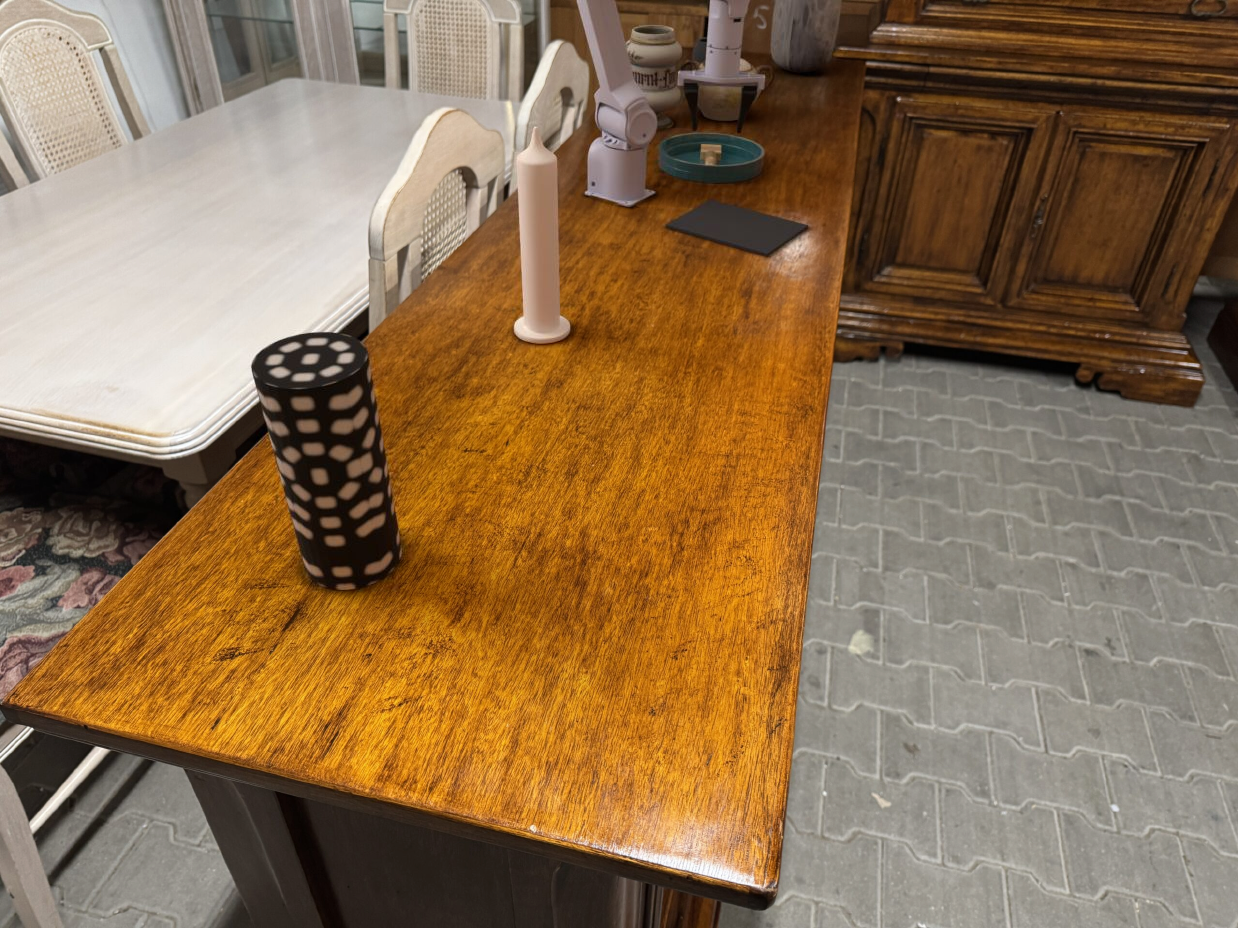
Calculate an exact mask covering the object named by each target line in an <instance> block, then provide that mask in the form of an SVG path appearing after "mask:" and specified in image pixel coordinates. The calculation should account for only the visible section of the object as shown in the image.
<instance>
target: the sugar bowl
mask: <svg viewBox="0 0 1238 928" xmlns="http://www.w3.org/2000/svg"><path fill="white" fill-rule="evenodd" d="M705 63H706V60H705V61H703V62H702V64H701V63H699V62H696V61H694V60H692V59H686V60H685V61H683V63H681V65H680V68H679V71H686V70H685V69H686V67H687V66H692V65H693V66H694V67H695V71H700V70H705ZM763 71H766V72H768V74H769V79H768V81H767V82H765V84H764V90H760V89H757V96H756V98H755V100H754V101H753V103H752V105H753V104H754V103H756V102H757V101H758V100H759V99H760V98H761V97H762V95H763V94H764V92H766V90H767V89H769V88H770V86H771V85H772V84H773V82H774V80H775V71H774V69H773V68H772V67H771V66H770V65H769V64H764V65H758V66H756V67H755V65H753V64H752V63H750V62H748V61H747V60H746V59H744V58H741V57H740V66H739V72H743V73H751V74H759V75H760V73H762V72H763ZM741 92H742V88H741V87H720V86H699V89H698V102H697V107H699V109H700V112H701V114H702V115H703V116H704V118H707V119H710V120H713V121H719V122H720V121H722V122H731V121H738V117H739V112H740V103H741Z"/></svg>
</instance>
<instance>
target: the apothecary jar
mask: <svg viewBox="0 0 1238 928" xmlns="http://www.w3.org/2000/svg"><path fill="white" fill-rule="evenodd" d="M675 33H676V32H675V29H674V28H673V27H670V26H667V25H659V24H658V25H657V24H649V25H647V24H646V25H639V26H635V27H633V28H632V29H631V35H630V37H629V39H628V40H627V41H625V44H626V48H627V52H628V56H629V60H630V65H631V69H632V73H633V77H634V80H635V82H636V83H637V85H638V86H639V87H640V89H641V90H642V91H643V93H644V94H645V96H646V98H647V102H648V105H649V107H650V108H651V109H652V110H653V111H654V113H655V115H656V118H657V129H660V128H661V129H662V128H666V129H668V128H669V129H670V128H672V127H673V125H674V121H673V119H672V118H670V117H668V116H666V115H665V114H663V113H662V112H666V111H669V110H671V109H673V108H674V107H676V105H678V103H679V102H680V101H681V96H682V95H681V91H680V89H679V86H678V85H676V63H677V62H678V61H680V59H681V58H682V55H683V48H682V46H681V44H680V43H679V42H678V40H676V35H675Z"/></svg>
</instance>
